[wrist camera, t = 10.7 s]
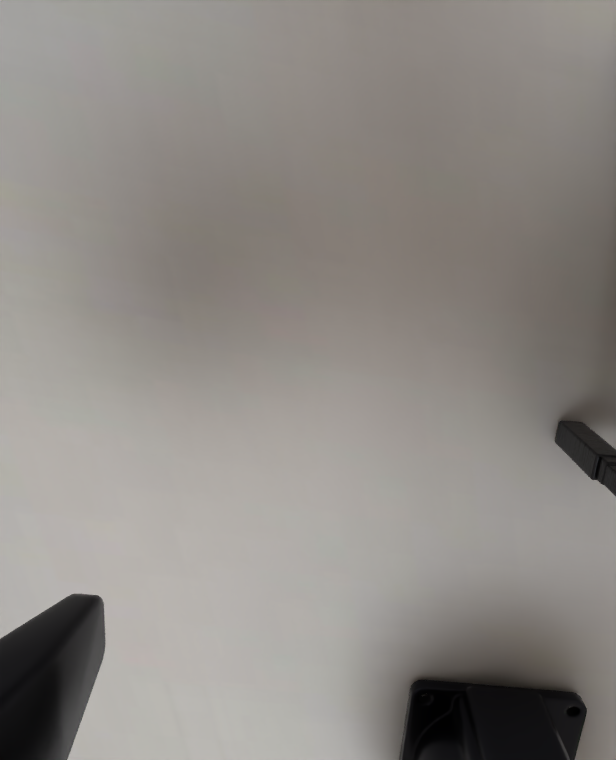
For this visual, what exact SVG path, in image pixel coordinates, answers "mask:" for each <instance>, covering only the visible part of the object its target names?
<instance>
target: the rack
mask: <svg viewBox="0 0 616 760" xmlns="http://www.w3.org/2000/svg"><path fill="white" fill-rule="evenodd" d="M555 442H556V444H557V445H558V446H559V447H560V448H561V449H562V450H563V451H564V452H565V453H566V454H567V455H568V456H569V457H570V458H571V459H572V460H573V461H574V462H575V463H576V464H577V465H578V466H579V467H580V468H581V469H582V470H583V471H584V472H585V473H586V474H587V475H588V476H589V477H590V478H591V479H592V480H598V481H599V482H600V483H601V484H603V485H605V486H606V487H607V488H608V489H609V490H610V491H611V492H612V493H613V494H614V495H615V496H616V450H615V449H614V448H613V447H612V446H611V445H609V444H608V443H607V442H606V441H605V440H603V439H602V438H601V437H600V436H599V435H597V434H596V433H595V432H594V431H593V430H591V429H590V428H589V427H588V426H587V425H585V424H584V423H583V422H573V421H559V425H558V430H557V435H556V439H555Z"/></svg>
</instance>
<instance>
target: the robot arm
mask: <svg viewBox="0 0 616 760" xmlns="http://www.w3.org/2000/svg"><path fill="white" fill-rule="evenodd" d="M104 651H105V623H104V604H103V600H102V598H101V597H99V596H98V595H87V594H72V595H70V596H68V597H66V598H65V599H63V600H61V601H60V602H58V603H57V604H55V605H53V606H52V607H50V608H49V609H47V610H45V611H44V612H42V613H41V614H39V615H37V616H36V617H34V618H33V619H31V620H29V621H28V622H26V623H25V624H23V625H22V626H20V627H18V628H17V629H15V630H14V631H12V632H10V633H9V634H7V635H6V636H4V637H2V638H1V639H0V760H67V759H68V756H69V753H70V751H71V748H72V745H73V742H74V739H75V737H76V734H77V731H78V728H79V725H80V722H81V720H82V717H83V714H84V711H85V708H86V705H87V703H88V700H89V697H90V694H91V691H92V689H93V686H94V683H95V680H96V677H97V674H98V672H99V669H100V666H101V663H102V660H103V656H104ZM425 693H426V694H427V695H425V696H421V694H425ZM571 706H573V707H571ZM569 707H571V708H569ZM586 713H587V708H586V706H585V705H584V703H583V701H582V699H581V697H580V696H579V695H578V694H576V693H573V692H563V691H552V690H540V689H528V688H516V687H504V686H493V685H481V684H469V683H457V682H445V681H434V680H419V681H416V682H415V683H413V684H412V685H411V688H410V692H409V699H408V706H407V713H406V719H405V726H404V733H403V740H402V746H401V753H400V760H574V759H575V755H576V751H577V747H578V744H579V740H580V736H581V732H582V728H583V725H584V721H585V717H586Z"/></svg>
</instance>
